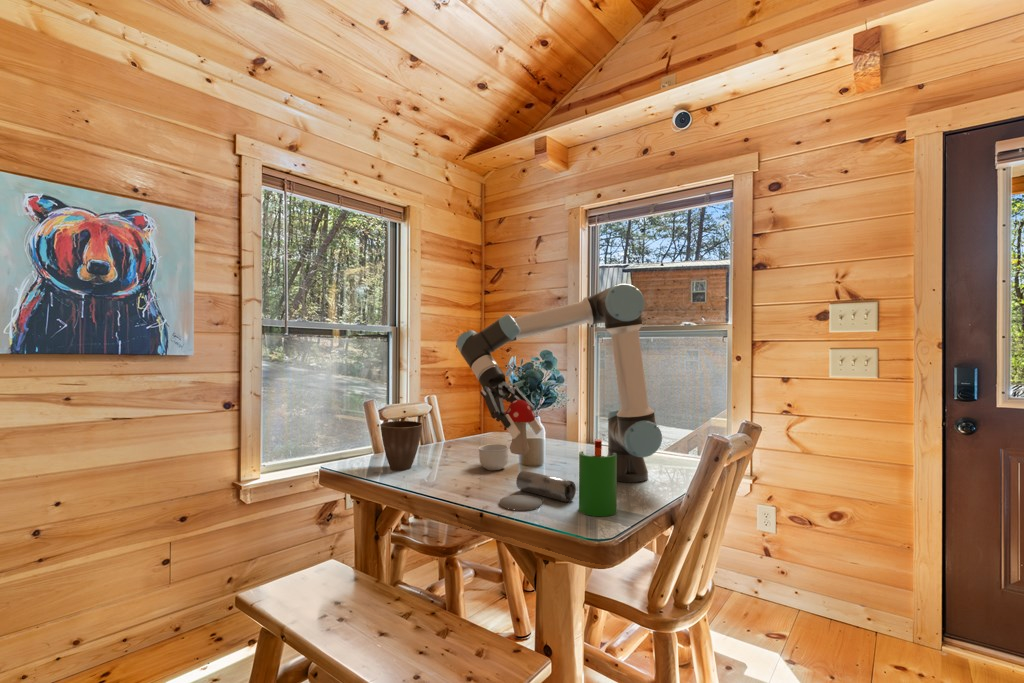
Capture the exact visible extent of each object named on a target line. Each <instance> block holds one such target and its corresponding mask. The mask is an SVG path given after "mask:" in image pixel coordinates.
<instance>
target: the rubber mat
mask: <svg viewBox="0 0 1024 683" xmlns="http://www.w3.org/2000/svg"><path fill="white" fill-rule="evenodd" d="M500 505H501V506H503V507H505V508H509V509H515V510H529V511H532V510H531V509H534V510H537V509H536V508H538V507H540V506H541V505H543V500H542V499H541V498H539V497H537V496H534V495H527V494H514V495H507V496H504V497H502V498H500V500H499V506H500ZM501 506H500V507H501ZM503 507H502V508H503ZM541 507H542V506H541ZM541 507H540V508H541ZM505 508H504V509H505ZM509 509H508V510H509ZM538 509H539V508H538ZM515 510H514V511H515Z"/></svg>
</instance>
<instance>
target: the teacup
mask: <svg viewBox="0 0 1024 683" xmlns="http://www.w3.org/2000/svg"><path fill="white" fill-rule="evenodd" d="M509 449H510V446H508V445H507V444H501V443H492V444H491V443H485V444H484V445H481V446H479V447H478V453H479V456H478V457H479V463H480V465H481V466H482V467H483V468H484V469H485V470H488V471H500V470H502V469H504V468H505V467H506V466H507V465H508V464H509Z"/></svg>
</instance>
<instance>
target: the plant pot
mask: <svg viewBox="0 0 1024 683" xmlns="http://www.w3.org/2000/svg"><path fill="white" fill-rule="evenodd" d="M422 430H423V423H422V422H419V421H413V420H395V421H394V420H393V421H387V422H382V423H381V424H380V434H381V438H382V444H383V445H382V446H383V449H384V452H385V457H386V460H387V463H388V466H389V468H390V469H391V470H394V471H407V470H411V468H412V466H413V464H414V461H415V458H416V455H417V451H418V449H419V445H420V440H421V437H422Z"/></svg>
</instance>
